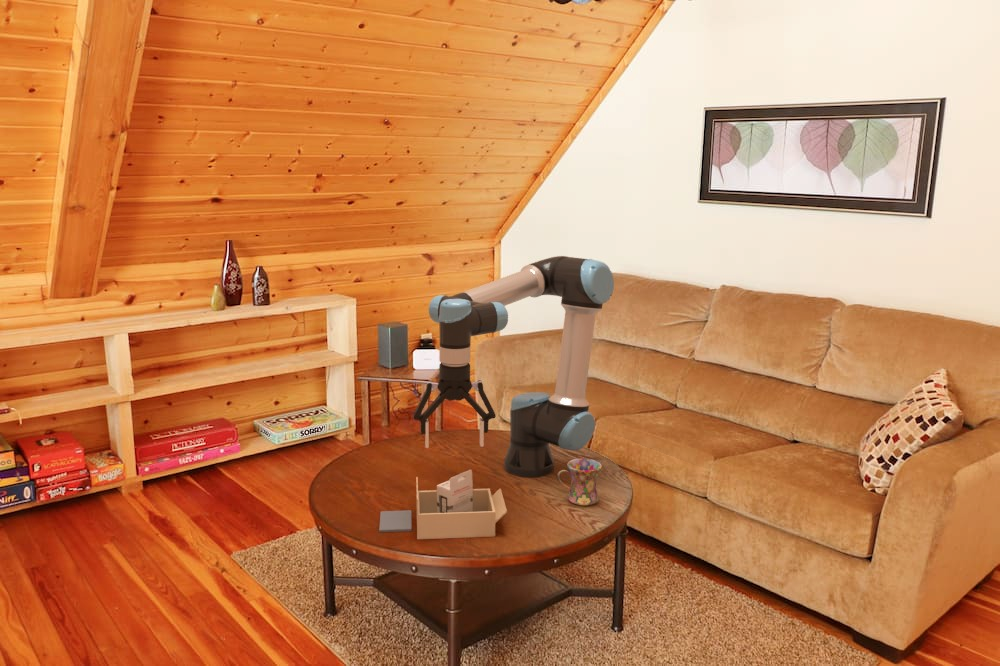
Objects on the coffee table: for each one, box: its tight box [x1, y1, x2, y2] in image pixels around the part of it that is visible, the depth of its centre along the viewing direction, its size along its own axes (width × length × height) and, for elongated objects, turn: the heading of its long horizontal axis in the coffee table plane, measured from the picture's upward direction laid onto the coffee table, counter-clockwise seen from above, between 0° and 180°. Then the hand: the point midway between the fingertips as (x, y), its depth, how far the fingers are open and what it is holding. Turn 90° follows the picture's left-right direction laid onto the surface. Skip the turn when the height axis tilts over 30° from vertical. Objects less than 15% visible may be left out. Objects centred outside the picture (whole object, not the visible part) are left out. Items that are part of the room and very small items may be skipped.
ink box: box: [436, 469, 474, 513], centre depth 207 cm, size 8×5×15 cm, turn 140°
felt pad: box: [378, 509, 412, 533], centre depth 210 cm, size 8×11×1 cm
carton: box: [415, 476, 508, 540], centre depth 209 cm, size 22×17×10 cm
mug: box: [557, 458, 603, 506], centre depth 223 cm, size 12×9×11 cm
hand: (454, 445), depth 204 cm, fingers open, 13 cm apart
